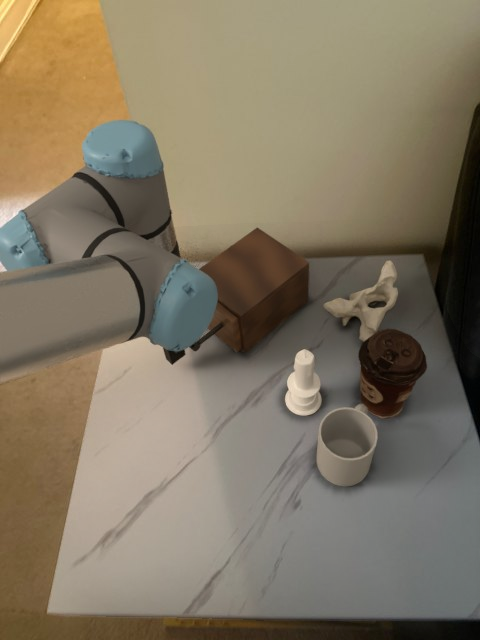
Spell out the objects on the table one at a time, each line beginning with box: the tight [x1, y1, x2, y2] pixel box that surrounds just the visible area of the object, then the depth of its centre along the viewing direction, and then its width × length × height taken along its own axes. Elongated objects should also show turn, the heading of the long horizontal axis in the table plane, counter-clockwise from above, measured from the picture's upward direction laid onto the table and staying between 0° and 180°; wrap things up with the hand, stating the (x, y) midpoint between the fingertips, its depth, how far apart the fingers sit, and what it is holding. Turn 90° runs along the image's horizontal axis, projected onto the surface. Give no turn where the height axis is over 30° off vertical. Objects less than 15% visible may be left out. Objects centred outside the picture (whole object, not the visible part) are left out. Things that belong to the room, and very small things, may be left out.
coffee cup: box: [357, 328, 428, 419], centre depth 77 cm, size 9×8×13 cm
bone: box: [323, 260, 399, 343], centre depth 90 cm, size 9×14×8 cm, turn 142°
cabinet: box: [198, 226, 310, 354], centre depth 91 cm, size 15×12×10 cm
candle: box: [284, 348, 323, 417], centre depth 78 cm, size 5×5×12 cm
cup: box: [316, 403, 379, 487], centre depth 74 cm, size 7×10×9 cm
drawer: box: [188, 301, 242, 353], centre depth 89 cm, size 20×10×8 cm, turn 133°
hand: (175, 356), depth 86 cm, fingers closed
